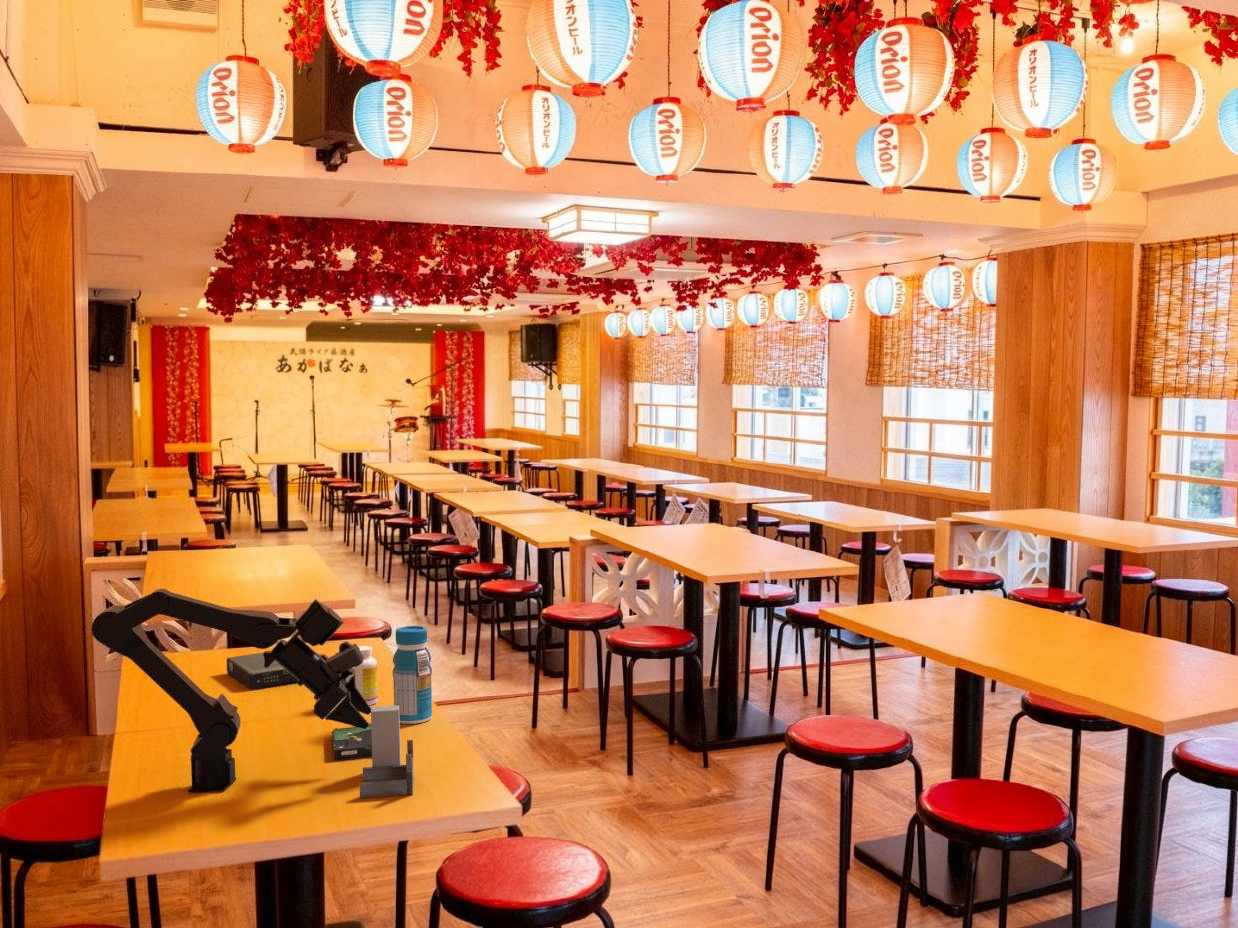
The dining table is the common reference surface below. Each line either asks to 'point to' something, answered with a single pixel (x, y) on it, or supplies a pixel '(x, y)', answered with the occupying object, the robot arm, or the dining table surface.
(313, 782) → the dining table surface
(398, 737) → the grey block
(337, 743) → the disk drive
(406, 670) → the beverage bottle
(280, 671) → the network switch
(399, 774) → the rack
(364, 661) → the supplement bottle
